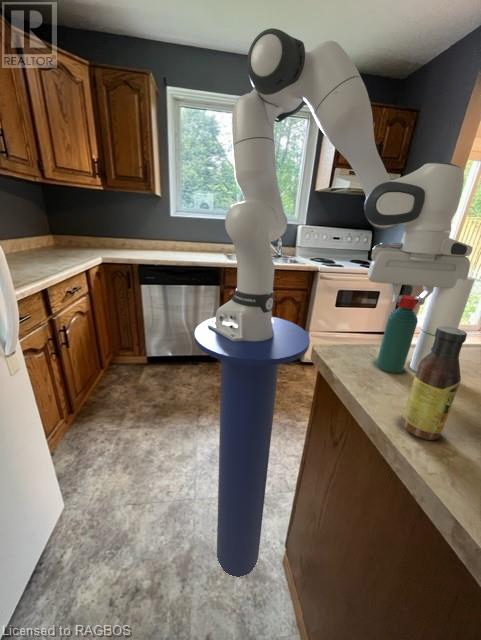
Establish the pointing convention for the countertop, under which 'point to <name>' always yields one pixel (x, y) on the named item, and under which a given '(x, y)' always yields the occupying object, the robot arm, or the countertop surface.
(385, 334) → the water bottle
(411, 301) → the cap
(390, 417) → the countertop surface
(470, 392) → the countertop surface
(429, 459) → the countertop surface
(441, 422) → the sauce bottle
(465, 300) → the cylindrical container
